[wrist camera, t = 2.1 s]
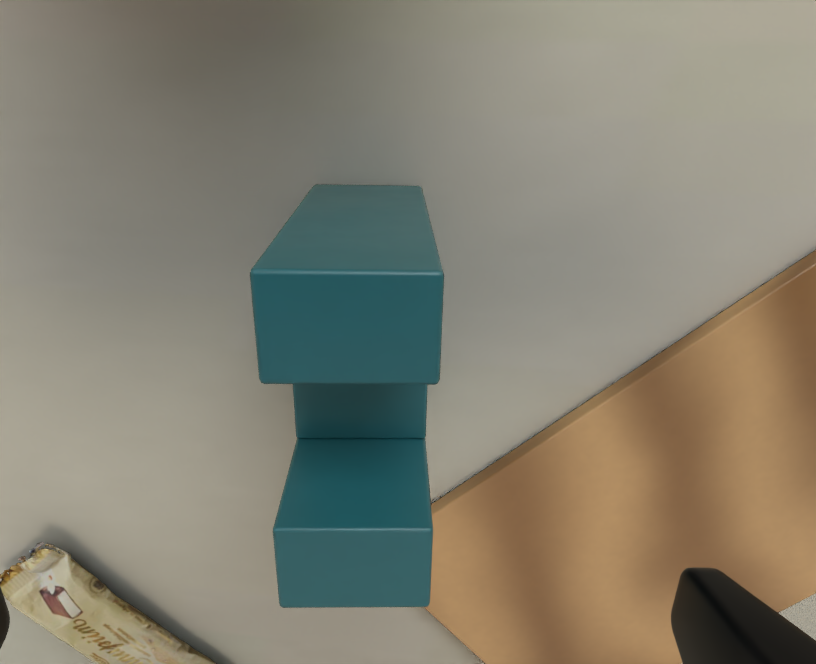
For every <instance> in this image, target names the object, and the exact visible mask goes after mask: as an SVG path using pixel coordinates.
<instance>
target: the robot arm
mask: <svg viewBox="0 0 816 664" xmlns="http://www.w3.org/2000/svg"><path fill="white" fill-rule="evenodd" d="M9 623H10V617H9V611H8V608H7V605H6V602H5V599H4V596H3V593H2V590H1V587H0V649H1V646H2V644H3V642H4V640H5V638H6V635H7V632H8V629H9ZM671 626H672V631H673V634H674V637H675V640H676V644H677V647H678V650H679V653H680V656H681V659H682V662H683V664H816V641H815V640H814V639H813V638H811V637H810V636H809V635H807V634H806V633H804V632H803V631H802V630H800V629H799V628H798V627H796V626H795V625H794V624H792V623H791V622H790V621H788V620H787V619H785V618H784V617H783V616H781V615H780V614H779V613H777V612H776V611H775V610H773V609H772V608H771V607H769V606H768V605H767V604H765V603H764V602H762V601H761V600H760V599H758V598H757V597H756V596H754V595H753V594H752V593H750V592H749V591H748V590H746V589H745V588H743V587H742V586H741V585H739V584H738V583H737V582H735V581H734V580H733V579H731V578H730V577H729V576H727V575H726V574H724V573H723V572H722V571H720V570H718V569H716V568H711V567H690V568H686V569H684V570H683V572H682V573H681V576H680V579H679V583H678V587H677V591H676V595H675V598H674V602H673V606H672V610H671Z"/></svg>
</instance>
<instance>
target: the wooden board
mask: <svg viewBox="0 0 816 664" xmlns="http://www.w3.org/2000/svg"><path fill="white" fill-rule="evenodd" d="M431 511H432V522H433V546H432V569H431V593H430V603H429V605H428V606H427V607H424V608H425V609H426V610H427V611H428V612H429V613H430V614H432V615H433V616H434V617H435V618H436V619H437V620H438V621H439V622H440V623H441V624H443V625H444V626H445V627H446V628H447V629H448V630H449V631H450V632H451V633H452V634H454V635H455V636H456V637H457V638H458V639H459V640H460V641H461V642H462V643H463V644H465V645H466V646H467V647H468V648H469V649H470V650H471V651H472V652H473V653H474V654H476V655H477V656H478V657H479V658H480V659H481V660H482V661H483V662H484V663H485V664H681V663H682V659H681V656H680V653H679V650H678V647H677V644H676V640H675V637H674V634H673V631H672V626H671V610H672V606H673V602H674V598H675V595H676V591H677V587H678V583H679V579H680V576H681V573H682V572H683V570H684V569H686V568H690V567H711V568H716V569H718V570H720V571H722V572H723V573H724V574H726V575H727V576H729V577H730V578H731V579H733V580H734V581H735V582H737V583H738V584H739V585H741V586H742V587H743V588H745V589H746V590H748V591H749V592H750V593H752V594H753V595H754V596H756V597H757V598H758V599H760V600H761V601H762V602H764V603H765V604H767V605H768V606H769V607H771V608H772V609H773V610H775V611H776V612H777V613H779V612H780V611H782V610H784V609H786V608H788V607H790V606H792V605H794V604H796V603H798V602H800V601H802V600H804V599H805V598H807V597H809V596H811V595H813V594H815V593H816V250H815V251H814V252H812V253H810V254H809V255H807V256H806V257H804V258H803V259H801V260H800V261H798V262H797V263H795V264H794V265H792V266H791V267H789V268H788V269H786V270H785V271H783V272H782V273H780V274H779V275H777V276H776V277H774V278H773V279H771V280H770V281H768V282H767V283H765V284H764V285H762V286H761V287H759V288H758V289H756V290H755V291H753V292H752V293H750V294H748V295H747V296H745V297H744V298H742V299H741V300H739V301H738V302H736V303H735V304H733V305H732V306H730V307H729V308H727V309H726V310H724V311H723V312H721V313H720V314H718V315H717V316H715V317H714V318H712V319H711V320H709V321H708V322H706V323H705V324H703V325H702V326H700V327H699V328H697V329H696V330H694V331H693V332H691V333H690V334H688V335H687V336H685V337H683V338H682V339H680V340H679V341H677V342H676V343H674V344H673V345H671V346H670V347H668V348H667V349H665V350H664V351H662V352H661V353H659V354H658V355H656V356H655V357H653V358H652V359H650V360H649V361H647V362H646V363H644V364H643V365H641V366H640V367H638V368H637V369H635V370H634V371H632V372H631V373H629V374H628V375H626V376H625V377H623V378H621V379H620V380H618V381H617V382H615V383H614V384H612V385H611V386H609V387H608V388H606V389H605V390H603V391H602V392H600V393H599V394H597V395H596V396H594V397H593V398H591V399H590V400H588V401H587V402H585V403H584V404H582V405H581V406H579V407H578V408H576V409H575V410H573V411H572V412H570V413H569V414H567V415H566V416H564V417H563V418H561V419H560V420H558V421H556V422H555V423H553V424H552V425H550V426H549V427H547V428H546V429H544V430H543V431H541V432H540V433H538V434H537V435H535V436H534V437H532V438H531V439H529V440H528V441H526V442H525V443H523V444H522V445H520V446H519V447H517V448H516V449H514V450H513V451H511V452H510V453H508V454H507V455H505V456H504V457H502V458H501V459H499V460H498V461H496V462H495V463H493V464H491V465H490V466H488V467H487V468H485V469H484V470H482V471H481V472H479V473H478V474H476V475H475V476H473V477H472V478H470V479H469V480H467V481H466V482H464V483H463V484H461V485H460V486H458V487H457V488H455V489H454V490H452V491H451V492H449V493H448V494H446V495H445V496H443V497H442V498H440V499H439V500H437V501H436V502H434V503H433V504H431Z"/></svg>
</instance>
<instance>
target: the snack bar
mask: <svg viewBox="0 0 816 664" xmlns="http://www.w3.org/2000/svg"><path fill="white" fill-rule="evenodd" d="M43 544H44V542H41V543H38V544H37V545H36V546H35V548H33V549H30V551H29V553H30V554H31V556H33V557H32V558H29V560H27V561H25V559H26V557H25V556H21V557H20V558H18V559H19V561H20V560H22V561H23V562H22V563H17V564H16V565H12V566H11V567H10V569H9V570H5V571H4V572H3V573H2V574H0V578H1V579H2V581H1V582H0V587H1V590H2V593H3V595H4V596H5V597H6V599H7V600H9V601H10V603H11V605H12V606H13V607H14V608H16V609H17V610H19V611H20V612H22V613H23V614H24V615H26V616H27V617H29V618H30V619H32V620H33V621H35V622H36V623H38V624H39V625H41V626H42V627H43V628H45V629H46V630H48V631H49V632H51V633H52V634H53V635H54V636H56V637H57V638H59V639H60V640H62V641H64V642H66V643H67V644H68V645H70V646H71V647H73V648H74V649H76V650H77V651H79V652H80V653H82V654H83V655H84V656H86V657H87V658H88V659H90V660H91V661H93V662H95V663H97V664H216V663H215V662H213V661H212V660H211V659H210V658H208V657H207V656H205V655H203V654H202V653H200V652H198V651H196V650H195V649H193V648H192V647H191V646H189V645H188V644H187V643H185V642H184V641H182V640H180V639H179V638H177V637H176V636H175V635H173V634H171V633H170V632H169V631H167V630H166V629H165V628H163V627H162V626H160V625H159V624H157V623H156V622H155V621H153V620H152V619H150V618H149V617H148V616H147V615H145V614H144V613H142V612H141V611H139V610H138V609H136V608H134V607H133V606H131V605H130V604H128V603H127V602H125V601H124V600H122V599H120V598H118V597H117V596H116V595H115V594H113V593H112V592H111V591H110V590H109V589H108V588H107V587H106V585H105V584H103V583H102V582H101V581H99V580H98V579H97V578H96V577H95V576H94V575H92V574H91V573H90V572H89V571H87V570H86V569H85V568H83V567H82V566H81V565H79V564H78V563H77V562H76V561H74V560H73V559H71V554H70V553H69V552H66V551H63V550H62V549H60V548H57V547H55V546H54V545H51V544H48V543H47V544H46V545H45V546H47V545H48V546H49V547H50V548H55V549H56V551H54V550H51V549H43V548H41V550H39V548H40V547H41V545H43ZM57 551H60V553H63V554H59V553H58V552H57ZM7 572H9V574H8V573H7Z"/></svg>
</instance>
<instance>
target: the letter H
mask: <svg viewBox="0 0 816 664" xmlns="http://www.w3.org/2000/svg"><path fill="white" fill-rule="evenodd" d="M250 280H251V291H252V303H253V314H254V325H255V336H256V347H257V359H258V370H259V379H260V381H261V383H264V384H293V395H294V410H295V426H296V436H297V441H296V445H295V449H294V452H293V456H292V460H291V464H290V467H289V471H288V475H287V479H286V482H285V486H284V490H283V494H282V497H281V501H280V505H279V509H278V512H277V516H276V520H275V524H274V527H273V538H274V549H275V561H276V572H277V583H278V594H279V603H280V606H281V607H283V608H302V607H427V606H428V605H429V603H430V593H431V569H432V546H433V522H432V511H431V499H430V488H429V476H428V465H427V454H426V442H425V436H426V410H427V384H432V385H434V384H437V383H438V381H439V379H440V359H441V335H442V312H443V289H444V273H443V269H442V265H441V262H440V258H439V254H438V250H437V246H436V242H435V238H434V234H433V230H432V226H431V222H430V219H429V215H428V211H427V207H426V203H425V199H424V195H423V191H422V188H421V187H420V186H390V185H319V184H316V185H314V186H313V187H312V188H311V190H310V191H309V192H308V194H307V195H306V196H305V198H304V199H303V201H302V202H301V203H300V205H299V206H298V207H297V209H296V210H295V211H294V213H293V214H292V215H291V217H290V218H289V219H288V221H287V222H286V223H285V225H284V226H283V227H282V229H281V230H280V231H279V233H278V234H277V236H276V237H275V238H274V240H273V241H272V242H271V244H270V245H269V246H268V248H267V249H266V250H265V252H264V253H263V254H262V256H261V257H260V258H259V260H258V261H257V262H256V264H255V265H254V267H253V268H252V269H251V272H250Z"/></svg>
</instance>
